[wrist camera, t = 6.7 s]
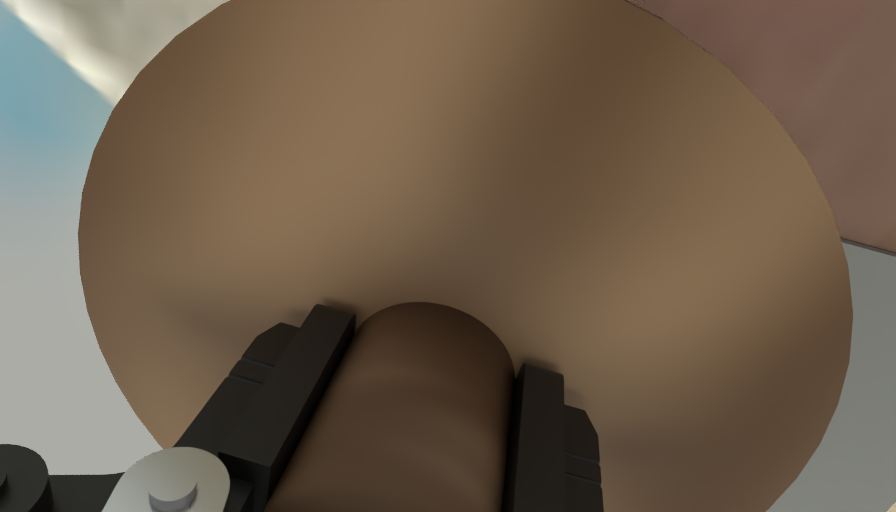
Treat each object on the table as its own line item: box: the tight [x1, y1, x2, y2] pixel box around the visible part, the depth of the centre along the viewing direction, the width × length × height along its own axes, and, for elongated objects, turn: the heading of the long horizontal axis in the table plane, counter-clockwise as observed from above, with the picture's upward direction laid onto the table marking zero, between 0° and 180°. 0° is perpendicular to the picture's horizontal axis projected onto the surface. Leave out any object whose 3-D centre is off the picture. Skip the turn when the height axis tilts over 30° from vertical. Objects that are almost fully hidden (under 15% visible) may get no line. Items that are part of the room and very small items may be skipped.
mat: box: [766, 239, 896, 512], centre depth 26 cm, size 15×15×1 cm
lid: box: [78, 0, 853, 512], centre depth 10 cm, size 14×14×5 cm
